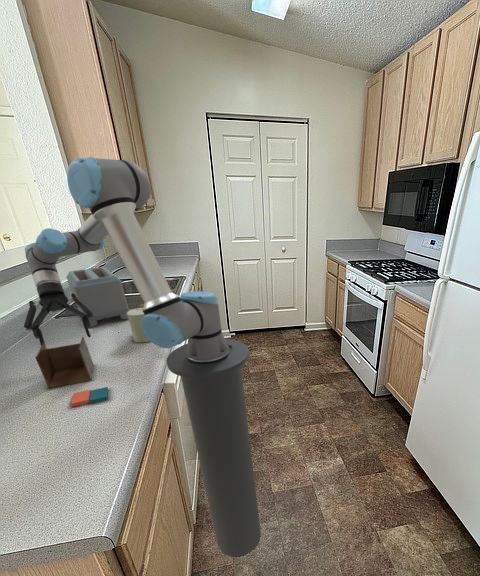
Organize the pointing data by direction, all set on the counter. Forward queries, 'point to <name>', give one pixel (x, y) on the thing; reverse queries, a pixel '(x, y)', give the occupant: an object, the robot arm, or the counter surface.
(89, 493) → the counter surface
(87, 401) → the packet coral
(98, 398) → the packet teal
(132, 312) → the can
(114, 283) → the toaster
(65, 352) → the brown wooden open box
